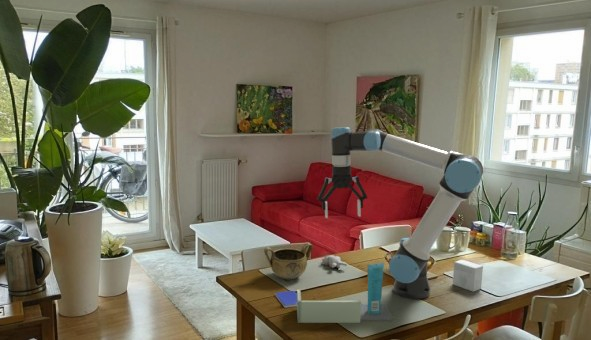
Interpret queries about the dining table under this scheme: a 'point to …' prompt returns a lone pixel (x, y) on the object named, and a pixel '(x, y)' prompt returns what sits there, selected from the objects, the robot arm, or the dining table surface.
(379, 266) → the tube
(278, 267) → the ceramic bowl
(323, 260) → the bunny figurine
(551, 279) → the dining table surface
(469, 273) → the skincare box
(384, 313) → the mat
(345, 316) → the l-shaped block
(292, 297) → the hard drive
